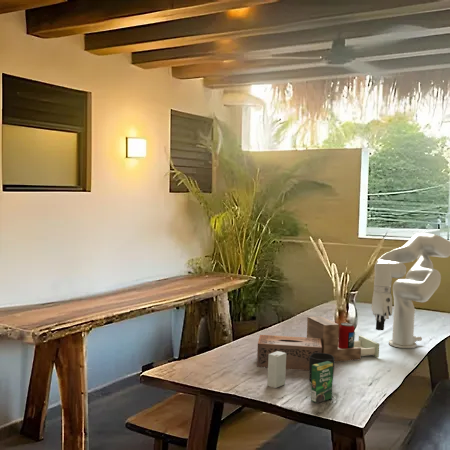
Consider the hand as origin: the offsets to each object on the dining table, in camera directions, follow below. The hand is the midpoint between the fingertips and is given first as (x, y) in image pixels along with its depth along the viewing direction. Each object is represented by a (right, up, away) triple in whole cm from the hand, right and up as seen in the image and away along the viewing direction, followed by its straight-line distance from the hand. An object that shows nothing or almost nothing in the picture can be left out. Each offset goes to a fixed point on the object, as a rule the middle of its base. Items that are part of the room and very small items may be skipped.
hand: (379, 329), depth 262 cm
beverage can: (-16, -9, -4) cm, 19 cm away
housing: (-22, -10, -7) cm, 26 cm away
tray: (-13, -10, -3) cm, 17 cm away
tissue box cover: (-43, -11, -20) cm, 49 cm away
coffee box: (-37, -14, -61) cm, 72 cm away
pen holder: (-34, -13, -42) cm, 55 cm away
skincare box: (-51, -12, -47) cm, 70 cm away
